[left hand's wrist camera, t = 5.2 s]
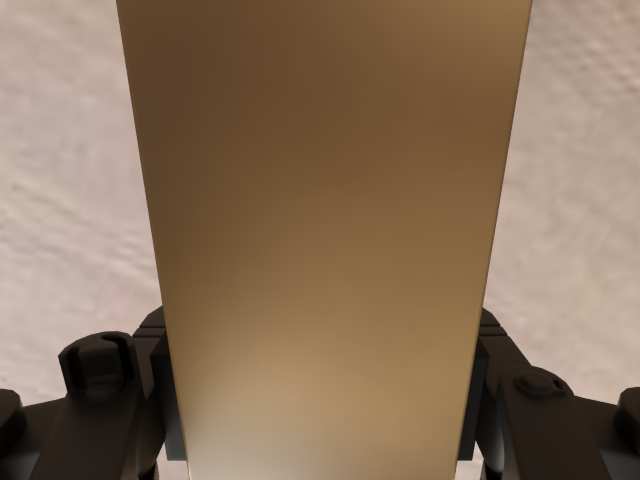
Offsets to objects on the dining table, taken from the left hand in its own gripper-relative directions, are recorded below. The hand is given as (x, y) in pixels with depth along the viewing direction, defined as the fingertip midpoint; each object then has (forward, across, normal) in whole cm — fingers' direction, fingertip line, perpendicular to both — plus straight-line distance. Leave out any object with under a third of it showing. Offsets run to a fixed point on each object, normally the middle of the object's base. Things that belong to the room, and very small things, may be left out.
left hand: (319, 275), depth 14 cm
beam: (0, 0, -18) cm, 18 cm away
